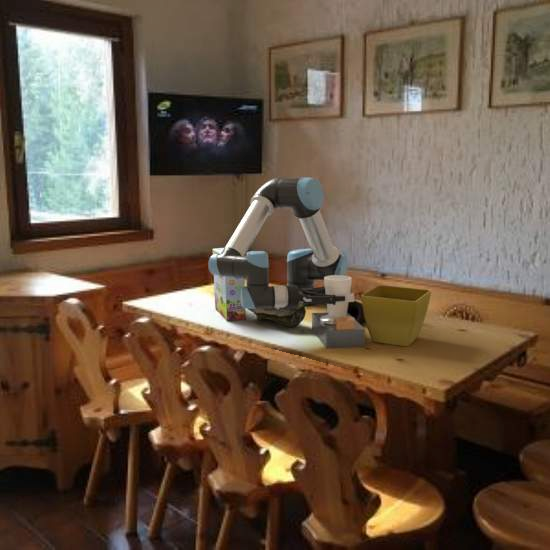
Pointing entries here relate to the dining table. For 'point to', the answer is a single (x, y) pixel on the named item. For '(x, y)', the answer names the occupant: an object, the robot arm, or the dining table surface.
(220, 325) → the dining table surface
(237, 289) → the snack box
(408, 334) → the flower pot
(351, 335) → the block
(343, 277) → the foam cup
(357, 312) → the pipe
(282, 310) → the moss-covered rock
